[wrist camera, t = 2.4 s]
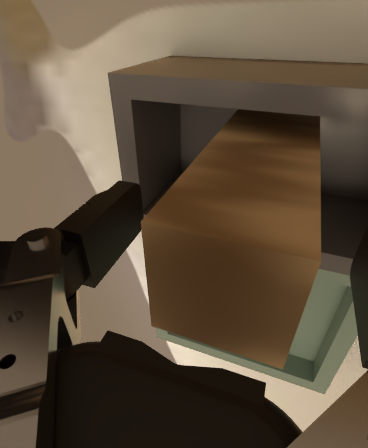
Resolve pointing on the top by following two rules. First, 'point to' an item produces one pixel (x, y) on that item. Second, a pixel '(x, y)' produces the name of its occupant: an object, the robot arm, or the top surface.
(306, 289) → the oak post
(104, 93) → the top surface
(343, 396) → the robot arm
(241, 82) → the grey open box
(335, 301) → the green tray
